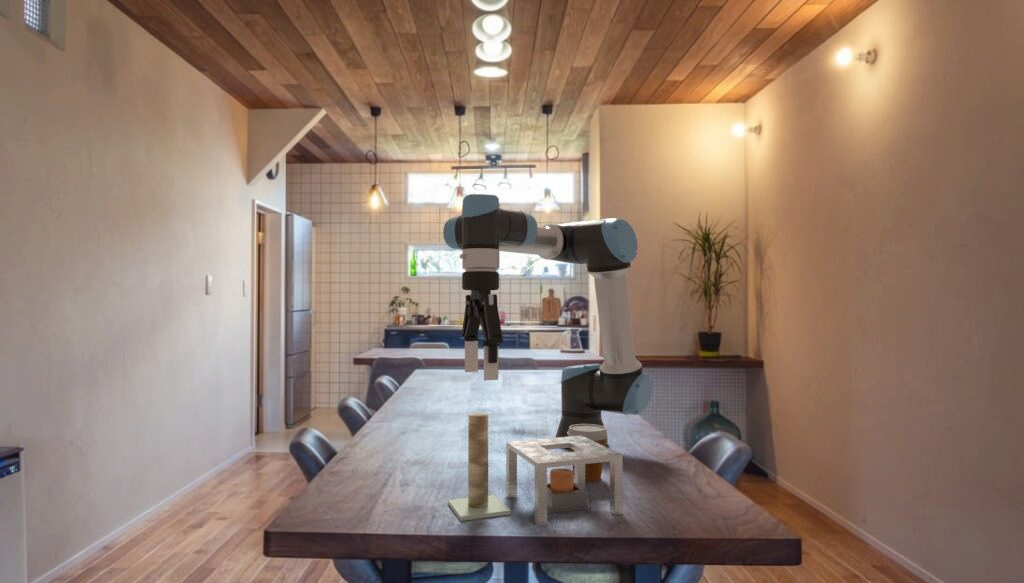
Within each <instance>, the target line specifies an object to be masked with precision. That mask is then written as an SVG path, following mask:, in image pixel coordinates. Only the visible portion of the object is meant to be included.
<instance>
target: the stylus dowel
mask: <svg viewBox="0 0 1024 583" xmlns="http://www.w3.org/2000/svg"><path fill="white" fill-rule="evenodd" d="M467 423H468V425H467V426H468V427H467V429H468V434H467V435H468V436H467V437H468V441H467V442H468V446H467V447H468V448H467V450H468V451H467V453H468V460H467V462H468V466H467V468H468V470H467V472H468V473H467V474H468V476H467V477H468V479H467V481H468V483H467V487H468V488H467V490H468V492H467V494H468V496H467V498H468V506H469V507H471V508H485V507H487V506H488V495H489V414H487V413H483V412H482V413H480V412H479V413H477V412H476V413H469V414H468V422H467Z"/></svg>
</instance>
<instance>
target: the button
mask: <svg viewBox="0 0 1024 583" xmlns="http://www.w3.org/2000/svg"><path fill="white" fill-rule="evenodd" d="M549 478H550V479H549V480H550V481H549V482H550V489H551V490H552V491H553V492H555V493H557V492H565V491H573V490H574V472H573V469H569V468H559V467H558V468H554V469H551V470H550V473H549Z"/></svg>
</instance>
